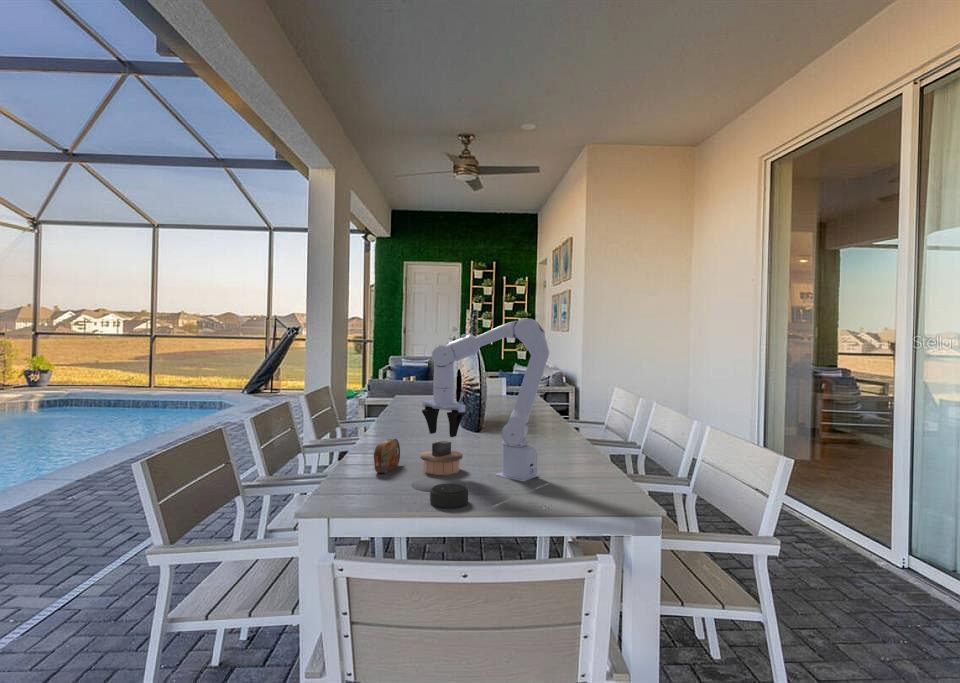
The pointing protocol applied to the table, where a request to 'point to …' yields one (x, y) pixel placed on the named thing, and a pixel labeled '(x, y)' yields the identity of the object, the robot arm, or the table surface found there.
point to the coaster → (433, 483)
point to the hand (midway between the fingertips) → (442, 434)
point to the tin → (386, 455)
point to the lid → (441, 453)
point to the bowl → (441, 467)
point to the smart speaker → (449, 496)
